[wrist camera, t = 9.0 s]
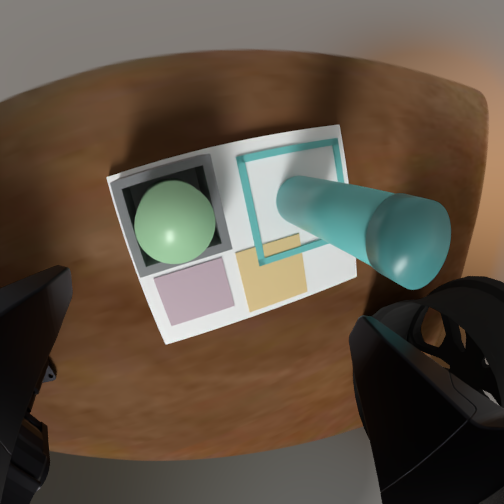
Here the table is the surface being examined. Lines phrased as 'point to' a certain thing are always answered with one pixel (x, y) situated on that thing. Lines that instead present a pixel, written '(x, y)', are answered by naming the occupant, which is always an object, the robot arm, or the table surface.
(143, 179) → the button housing
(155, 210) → the button
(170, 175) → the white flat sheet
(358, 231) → the teal round-topped cylinder
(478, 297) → the car wheel rim
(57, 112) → the table surface
